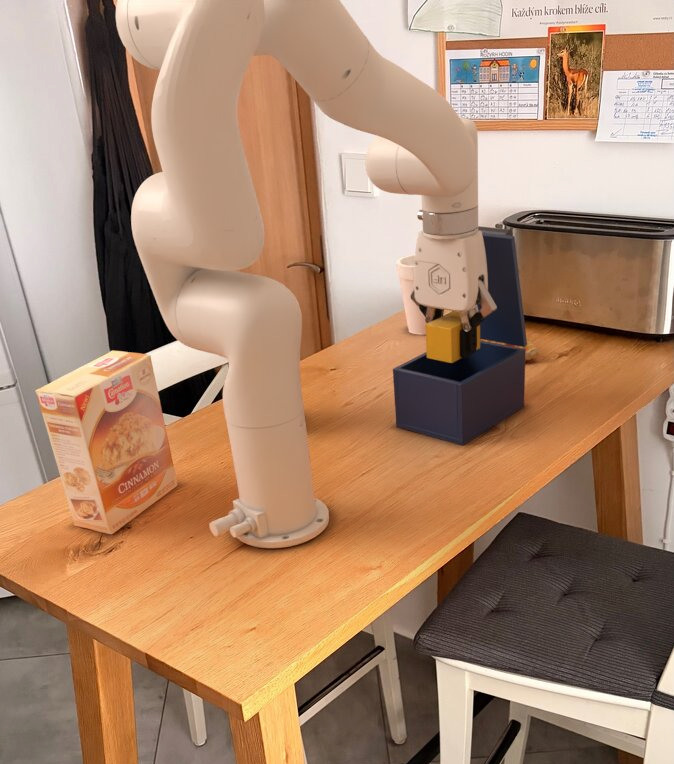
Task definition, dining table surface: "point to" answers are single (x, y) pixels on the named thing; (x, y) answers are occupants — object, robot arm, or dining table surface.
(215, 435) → the dining table surface
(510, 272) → the lid
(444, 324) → the cheese block
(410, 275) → the foam cup
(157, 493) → the coffeecake box
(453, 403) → the cool box
